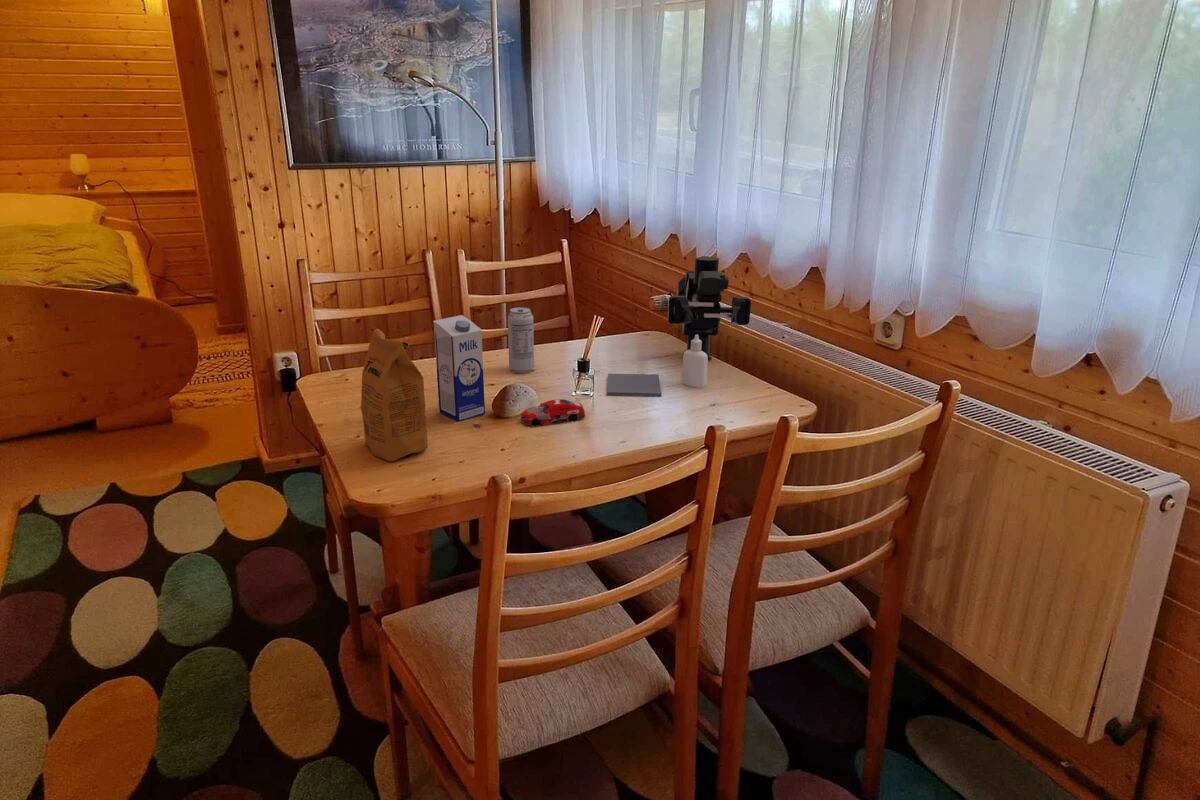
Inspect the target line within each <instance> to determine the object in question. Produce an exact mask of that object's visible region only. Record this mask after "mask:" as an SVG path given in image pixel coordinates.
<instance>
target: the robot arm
mask: <svg viewBox="0 0 1200 800" xmlns="http://www.w3.org/2000/svg"><path fill="white" fill-rule="evenodd" d="M719 264H720V258H719V257H712V256H706V255H703V256H699V257H696V256H695V257H694V268H693V269H694V270H688V271H686V272H685V276H684V277H683V278H681V279H680V280H679V281H678V282H677V287H676V288H677V289H676V295H670V296H669V297H668V303H667V304H668V306H667V321H668V323H670V324H676V325H681V326H682V328H681V330H682V334H683V336H687V342H686V343H687V344H686V350H684V352H685V351H687V350H690V349H691V340H693V339H694V338H695V335H698V336H699V340H701V341H702V346H701V351H703V352H705V353H706V354H707V356H708V361H711V360H712V359H713V358H712V356H711V352H710V342H711V341H710V340H711V336H714V337H717V336H718V335H719V329H720V322H721V319H722V318H723V319H727V318H728V319H730V325H731V326H748V325H749V324H750V316H751V307H752V306H751V305H752V301H751V299H750V298H749V297H748V296H732V300H731V306H730V307H729V306H728V307H727V306H726V307H725V306H723V307H722V305H721V304H720V302H723V301H722V300H723V299H722V298H723V297H722V293H723V292H724V290H725V291H726V290H728V289H729V282H730V281H729V280H730V279H729V275H726V274H725V273H723V272H719V267H720V266H719ZM684 352H683V353H684Z"/></svg>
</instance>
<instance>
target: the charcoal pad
mask: <svg viewBox="0 0 1200 800" xmlns="http://www.w3.org/2000/svg"><path fill="white" fill-rule="evenodd" d="M606 390H607V394H606V395H607V396H611V397H612V396H613V397H614V396H615V397H624V396H625V397H649V396H651V398H652V397H653V398H654V397H655V396H657V397H659V398H661V397H662V387H661V382H660V376H659V374H657V373H656V374H650V373H649V374H647V373H646V374H645V373H607V389H606ZM657 397H655V398H657Z"/></svg>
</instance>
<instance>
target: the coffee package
mask: <svg viewBox="0 0 1200 800" xmlns="http://www.w3.org/2000/svg"><path fill="white" fill-rule="evenodd" d="M409 348H410V345H409V343H408V342H407V341H405V340H400V339H390V338H389V339H388V338H386V334H385V333H384V332H383V331H382V330H380V328H375V329H374V330H373V332H372V337H371V340H370V343H369V345H368V349H367V353H366V356H365V358H364V361H363V362H364V364H363V369H362V372H361V375H362V377H361V397H360V398H361V400H360V402H361V403H360V410H361V411H360V413H361V415H362V416H361V417H362V422H363V435H364V440H365V441H364V443H365V446H366V447H368V448H369V449H370V450H371V452H372V453H373V455H374V456H375V455H376V456H375V457H377V456H378V458H380V457H381V458H380V459H383V460H385V461H388V462H395V461H397V460H399V459H402V458H403V457H405V456H407V455H410V454H415V453H420V452H422V451H424V450H425V449H428V447H429V445H428V416H427V415H426V400H425V399H426V398H425V383H424V377H423V375H422V373H421V371H420V370H419V369H418V367H417V366H416V365H415V363H414V362H413V360H411V358H410V357H409V355H408V353H407V352H406V350H407V349H409Z"/></svg>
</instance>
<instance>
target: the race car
mask: <svg viewBox="0 0 1200 800" xmlns="http://www.w3.org/2000/svg"><path fill="white" fill-rule="evenodd" d="M585 413H586V412H585V408H584V406H583V404H582V403H581V402H580V401H576V400H570V399H564V398H563V399H560V398H559V399H558V398H557V399H551V400H547V401H545V402H541V403H540V405H537V406H532V407H529V408H527V409H525V410H523V411H522V412H521V415H520V421H521V423H523V424H525V425H528V426H532V427H539V426H540V425H541V426H542V425H549V424H550V425H551V424H558V423H566V422H569V423H571V422H572V421H573V422H577V420H578V421H579V420H581V419H583V418H585V416H586V414H585ZM573 422H572V423H573Z"/></svg>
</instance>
